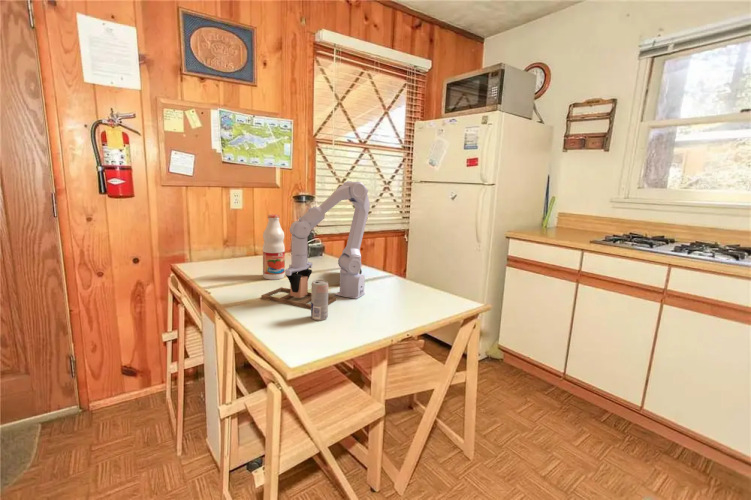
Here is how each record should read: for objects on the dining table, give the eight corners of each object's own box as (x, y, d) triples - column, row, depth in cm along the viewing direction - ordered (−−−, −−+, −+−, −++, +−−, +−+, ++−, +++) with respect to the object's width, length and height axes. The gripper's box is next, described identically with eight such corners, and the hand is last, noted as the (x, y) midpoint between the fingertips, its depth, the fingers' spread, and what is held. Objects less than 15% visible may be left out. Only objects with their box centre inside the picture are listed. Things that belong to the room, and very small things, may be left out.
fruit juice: (277, 273, 170) (277, 213, 165) (288, 277, 164) (289, 215, 159) (258, 276, 163) (258, 214, 158) (270, 281, 157) (269, 216, 152)
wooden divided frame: (336, 300, 136) (336, 297, 136) (319, 310, 125) (319, 306, 125) (281, 290, 145) (281, 287, 145) (261, 298, 134) (261, 295, 134)
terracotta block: (307, 294, 136) (307, 276, 135) (300, 297, 132) (300, 279, 131) (297, 292, 138) (297, 274, 137) (290, 295, 134) (290, 277, 133)
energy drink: (319, 313, 122) (320, 279, 120) (331, 317, 119) (332, 282, 117) (307, 317, 118) (308, 282, 116) (318, 322, 115) (319, 285, 113)
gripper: (301, 249, 140) (301, 283, 143) (277, 256, 127) (278, 293, 130) (317, 252, 138) (316, 286, 140) (294, 258, 124) (294, 296, 127)
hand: (299, 290), depth 135 cm, fingers closed on terracotta block, 4 cm apart
